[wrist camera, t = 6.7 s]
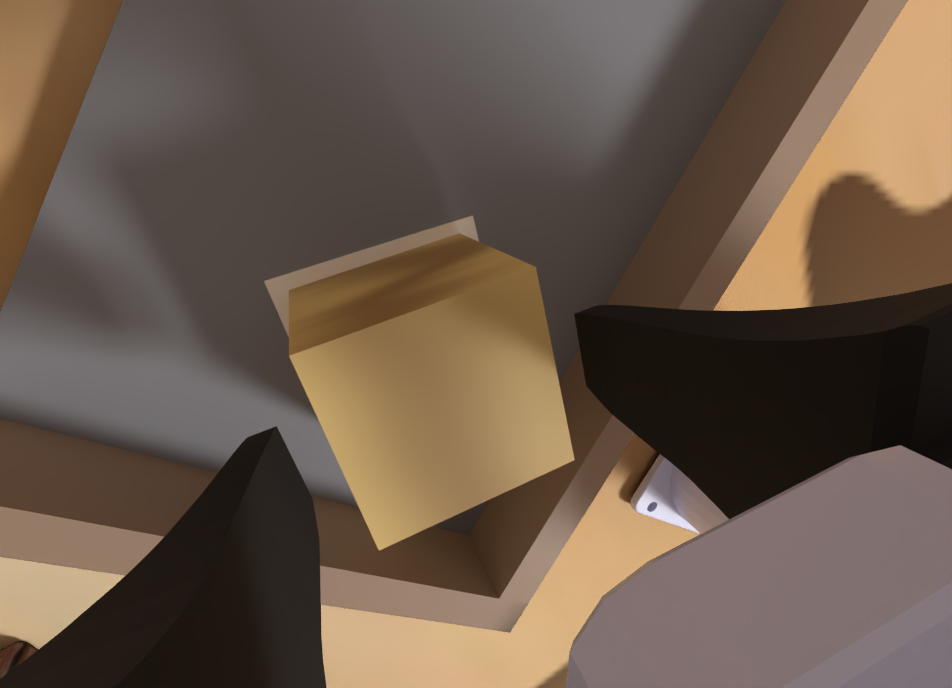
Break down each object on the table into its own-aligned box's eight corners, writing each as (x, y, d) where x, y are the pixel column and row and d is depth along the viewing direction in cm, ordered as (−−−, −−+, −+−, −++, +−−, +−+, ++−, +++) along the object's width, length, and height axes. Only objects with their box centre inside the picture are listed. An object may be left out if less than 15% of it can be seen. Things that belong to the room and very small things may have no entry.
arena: (814, -28, 17) (956, -78, 13) (470, 548, 20) (509, 632, 17) (392, -628, 9) (454, -1098, 6) (-32, 430, 13) (-152, 533, 9)
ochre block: (459, 233, 14) (536, 266, 10) (498, 378, 16) (574, 459, 12) (288, 289, 13) (288, 355, 9) (352, 438, 15) (378, 550, 11)
